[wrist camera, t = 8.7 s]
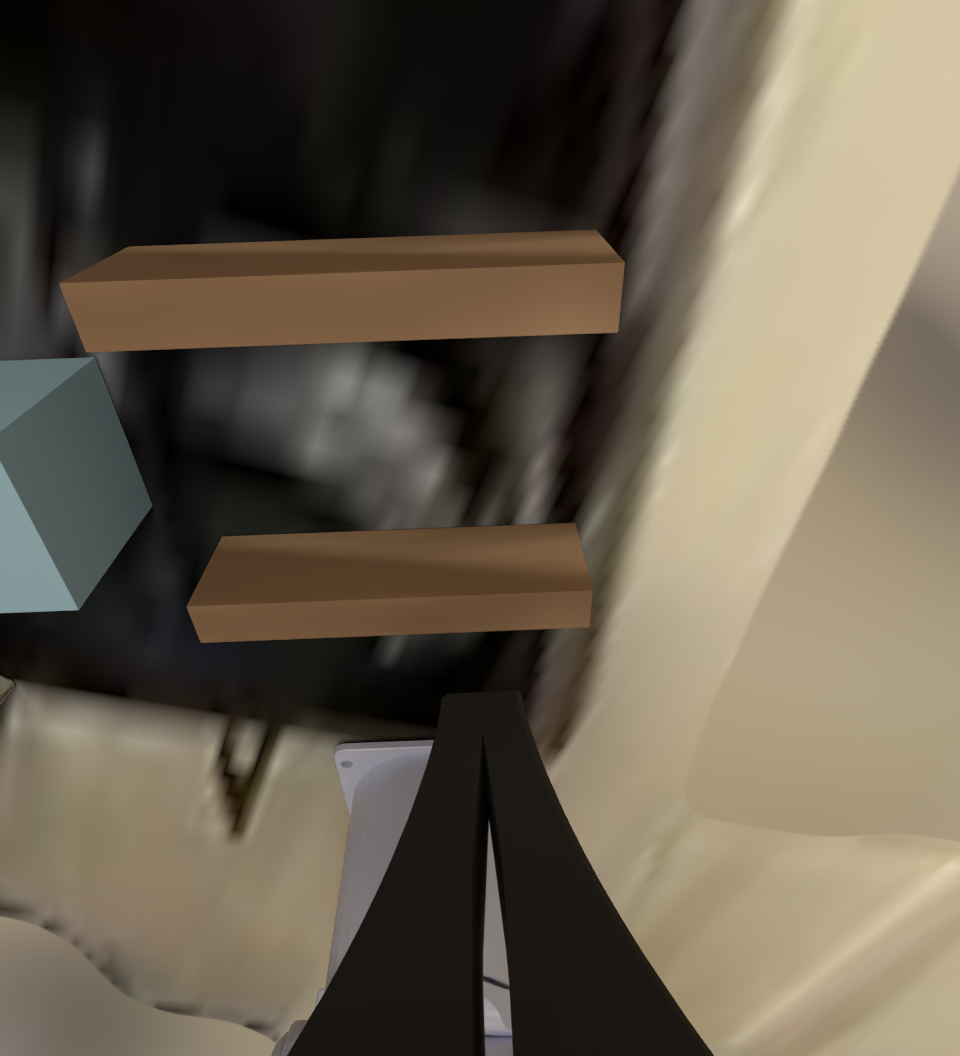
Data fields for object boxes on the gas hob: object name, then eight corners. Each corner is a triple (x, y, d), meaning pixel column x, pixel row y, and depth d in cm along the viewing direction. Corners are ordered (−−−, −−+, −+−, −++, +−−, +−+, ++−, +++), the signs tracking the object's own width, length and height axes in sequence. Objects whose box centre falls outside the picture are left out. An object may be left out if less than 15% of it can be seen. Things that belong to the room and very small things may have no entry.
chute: (573, 557, 23) (589, 627, 20) (233, 570, 23) (200, 642, 20) (596, 229, 17) (624, 262, 14) (128, 246, 16) (58, 283, 14)
